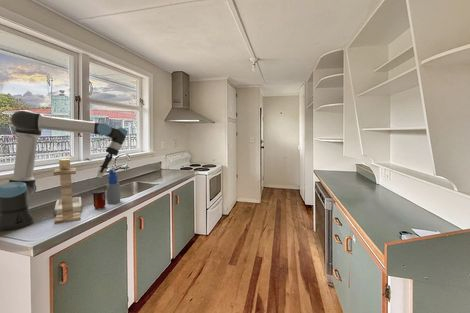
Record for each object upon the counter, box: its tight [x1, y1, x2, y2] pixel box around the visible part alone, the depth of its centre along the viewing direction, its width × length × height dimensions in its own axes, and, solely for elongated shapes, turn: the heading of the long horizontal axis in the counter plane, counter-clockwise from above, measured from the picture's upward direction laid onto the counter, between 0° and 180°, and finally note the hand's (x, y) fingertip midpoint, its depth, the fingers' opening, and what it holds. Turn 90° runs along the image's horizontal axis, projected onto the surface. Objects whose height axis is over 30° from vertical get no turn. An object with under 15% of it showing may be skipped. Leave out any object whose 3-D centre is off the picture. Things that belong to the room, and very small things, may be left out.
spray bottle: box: [105, 168, 121, 205], centre depth 168 cm, size 9×9×25 cm
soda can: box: [92, 189, 107, 210], centre depth 156 cm, size 7×7×12 cm
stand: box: [53, 167, 82, 225], centre depth 135 cm, size 14×12×30 cm
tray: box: [53, 196, 83, 217], centre depth 155 cm, size 26×14×4 cm, turn 35°
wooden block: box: [58, 158, 72, 170], centre depth 139 cm, size 18×5×6 cm, turn 35°
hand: (99, 177), depth 152 cm, fingers open, 13 cm apart
